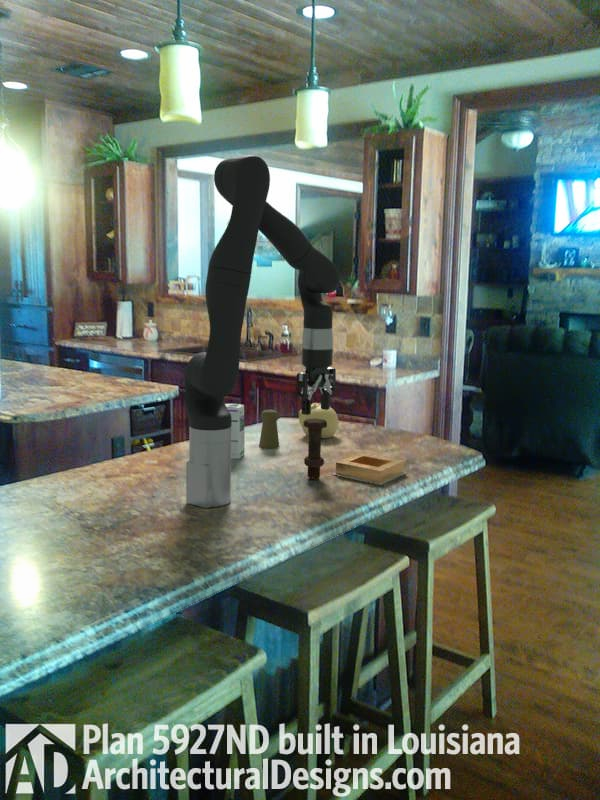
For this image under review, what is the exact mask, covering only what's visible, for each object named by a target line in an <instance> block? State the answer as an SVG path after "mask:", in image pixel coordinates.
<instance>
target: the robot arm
mask: <svg viewBox="0 0 600 800" xmlns="http://www.w3.org/2000/svg"><path fill="white" fill-rule="evenodd" d="M269 169H270V168H269V166H268V165H267V162H266V161H265V159H263V158H262V157H260V156H259V155H253V154H251V155H243V156H235V157H234V156H233V157H229V158H226V159H223V160H221V161H220V162H219V163H218V164H217V165H216V167H215V169H214V174H213V182H214V185H215V188H216V190H217V192H218V194H219V195H220V196H221V197H222V198H223V199H224V200H225V201H226V202H228V203H229V204H230V206H232V208H231V213H230V218H229V219H228V222H227V223H228V224H227V225H226V228H225V229H224V231H223V234H222V235H221V237H220V239H219V240H218V242H217V244H216V246H215V247H214V250H213V252H212V253H211V255H210V259H209V262H208V263H209V264H208V268H207V275H206V281H205V289H204V291H205V294H204V295H205V302H206V308H207V309H206V310H207V314H208V315H207V316H208V321H209V334H208V335H209V337H208V343H207V348H206V352H205V351H203V352H198V353H196V354H194V355H193V356H192V357H191V358H190V359H189V361H188V362H187V365H186V369H185V371H184V372H185V374H184V390H185V391H184V393H185V394H184V395H185V397H184V398H185V410H186V414H187V416H188V420H189V421H188V423H189V424H188V425H189V429H188V430H189V433H188V434H189V445H188V446H189V450H188V451H189V454H188V455H189V460H188V461H186V463H185V465H186V466H185V471H186V472H185V475H186V477H185V478H186V479H185V480H186V482H185V484H186V485H185V486H186V487H185V489H186V491H185V493H186V494H185V497H186V499H185V502H186V504H188V505H193V506H195V507H196V506H197V507H201V508H203V509H209V508H217V507H221V506H225V505H228V504H230V502H231V501H232V500H231V499H232V498H231V497H232V495H231V494H232V491H231V490H232V484H231V483H232V459H231V425H232V418H231V414H230V412H229V411H228V409H227V407H226V405H225V404H226V403H225V399H224V398H226V397H228V396H229V395H230V394H231V393H232V392H233V391H234V390H235V388H236V385H237V384H238V380H239V372H240V360H241V359H240V356H241V341H242V332H243V326H244V319H245V314H246V308H247V307H246V305H247V299H248V294H249V290H250V283H251V278H252V272H253V271H252V270H253V262H254V257H255V256H254V255H255V252H256V248H257V247H256V246H257V240H258V235H259V231H260V233H261V234H262V235H263V236H264V237H265V238H266V239H267V240H268V241H269V242H270V243H271V245H273V247H274V248H275V249H276V250H277V252H278V253H279V254H280V256H281V257H282V258H283V259H284V260H285V262H286V263H287V264H288V265H289V266H290V267H291V268H293V269H294V270H298V271H299V273H298V274H297V275H298V276H297V286H298V287H297V288H298V292H299V296H300V300H301V305H302V309H303V330H302V335H301V365H302V366H303V367H305V371H304V372H299V371H298V372H297V373H296V383H295V384H296V385H295V386H296V387H295V388H296V389H295V397H296V398H300V399H301V409H302V414H305V415H309V414H311V404H312V396H313V394H314V393H315V392H316V391H317V389H319V390H320V393H321V395H320V403H321V409H324V410H328V409H329V408H330V407H331V395H332V393H333V392H336V389H337V387H336V386H337V381H336V379H337V377H336V376H337V373H336V370H337V369H336V368H335V367H332V365H333V357H334V356H333V355H334V354H333V353H334V352H333V351H334V334H333V313H334V312H333V307H332V306H331V305H330V304H329V303H326V302H325V301H323V297H322V294H330V293H334V292H335V291H337V289H338V288H339V286H340V284H341V274H340V271H339V269H338V268H337V266H336V264H335V263H334V262H333V261H332V260H330V258H328V257H327V256H326V255H325V254H324V253H322V252H321V251H320V250H318V249H317V248H316V247H314V246H313V244H312V243H311V242H310V241H309V239H308V237H306V235H305V233H304V232H303V231H302V230H301V229H300V228H299V227H298V226H297V224H296V223H294V221H292V220H290V219H289V217H287V216H285V215H284V214H282V213H281V212H280V211H278V210H277V209H276V208H275V207H274V206H272V205H271V203H269V202H268V201H267V199H268V196H269V192H270V191H269V190H270V185H271V174H270V170H269ZM301 389H302V390H301Z"/></svg>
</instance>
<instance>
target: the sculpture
mask: <svg viewBox="0 0 600 800" xmlns="http://www.w3.org/2000/svg"><path fill="white" fill-rule="evenodd" d="M298 416H299V417H298V422H299V424H300V426H301V429H302V431H303V433H304V434H305V436H307V437H309V433H308V428H307V427H305V426H304V421H305V420H306V419H323V420H325V421H326V422H327V427H325V428H322V434H321V439H328V438H329V439H330V438H332V437H334V436H335V434H336V433H337V431H338V429H339V426H340V425H339V424H340V421H339V417H338V414H337V412H336V410H334V408H332V407H331V406H330V408H329V409H328V410H324V409H321V402H319V403H318V402H313V403H312V402H311V414H309V415H305V414H302V408H300V410H299V411H298Z"/></svg>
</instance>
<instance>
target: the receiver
mask: <svg viewBox="0 0 600 800" xmlns="http://www.w3.org/2000/svg"><path fill="white" fill-rule="evenodd" d="M406 474H407V471H405V460H403V459H397V458H392V457H387V456H380V455H376V454H371V453H364V452H360V453H357V454H354V455H351V456H348V457H346V458H344V459H341V460H338V461H336V462H335V472H333V473H332V475H333V476H335V475H337V476H336V477H340V476H341V478H345V477H346V479H349V478H350V480H355V481H360V482H365V483H368V482H369V483H370V484H373V483H374V485H380V486H383V485H384V484H387V483H388V482H392V481H393V480H395V479H397V478H399V477H401V476H404V475H406Z"/></svg>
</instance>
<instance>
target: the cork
mask: <svg viewBox="0 0 600 800" xmlns="http://www.w3.org/2000/svg"><path fill="white" fill-rule="evenodd" d="M260 418H261V420H262V424H261V432H260V438H259V444H258V447H259V448H261V449H266V450H274V448H276V449H279V448H280V442H279V441H280V440H279V433H278V432H279V431H278V424H277V421H278V420H279V412H278V411H277V410H275V409H264V410H262V412H261V414H260ZM278 447H279V448H278Z"/></svg>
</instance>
